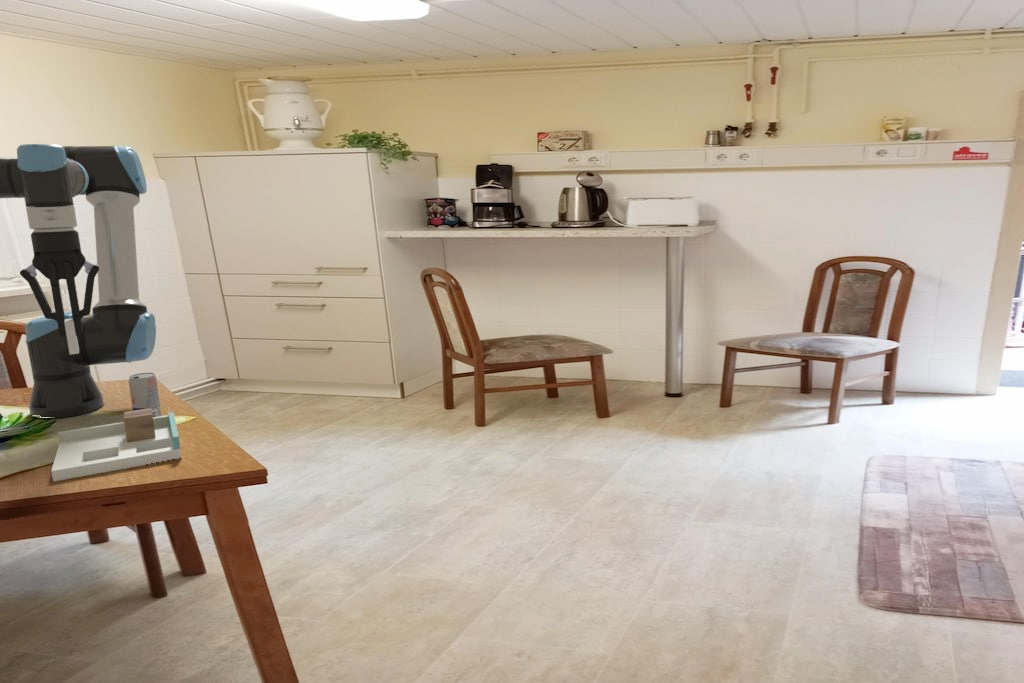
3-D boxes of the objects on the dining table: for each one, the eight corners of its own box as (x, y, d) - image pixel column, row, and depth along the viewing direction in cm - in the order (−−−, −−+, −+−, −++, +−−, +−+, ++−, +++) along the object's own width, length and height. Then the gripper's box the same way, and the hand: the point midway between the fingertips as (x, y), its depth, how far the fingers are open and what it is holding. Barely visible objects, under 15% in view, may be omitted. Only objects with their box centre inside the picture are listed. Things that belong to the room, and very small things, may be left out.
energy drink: (137, 426, 154) (130, 374, 152) (164, 423, 156) (157, 371, 153) (134, 433, 149) (126, 380, 147) (161, 430, 151) (154, 377, 148)
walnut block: (127, 435, 142) (124, 412, 141) (154, 430, 144) (151, 407, 143) (127, 442, 138) (123, 418, 137) (155, 438, 140) (152, 414, 139)
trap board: (61, 450, 140) (57, 429, 139) (176, 431, 150) (173, 411, 149) (53, 481, 124) (48, 458, 124) (181, 458, 134) (178, 436, 133)
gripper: (9, 232, 123) (32, 361, 129) (94, 229, 129) (112, 351, 135) (14, 230, 130) (36, 353, 135) (94, 227, 136) (112, 344, 141)
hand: (74, 352), depth 135 cm, fingers closed
